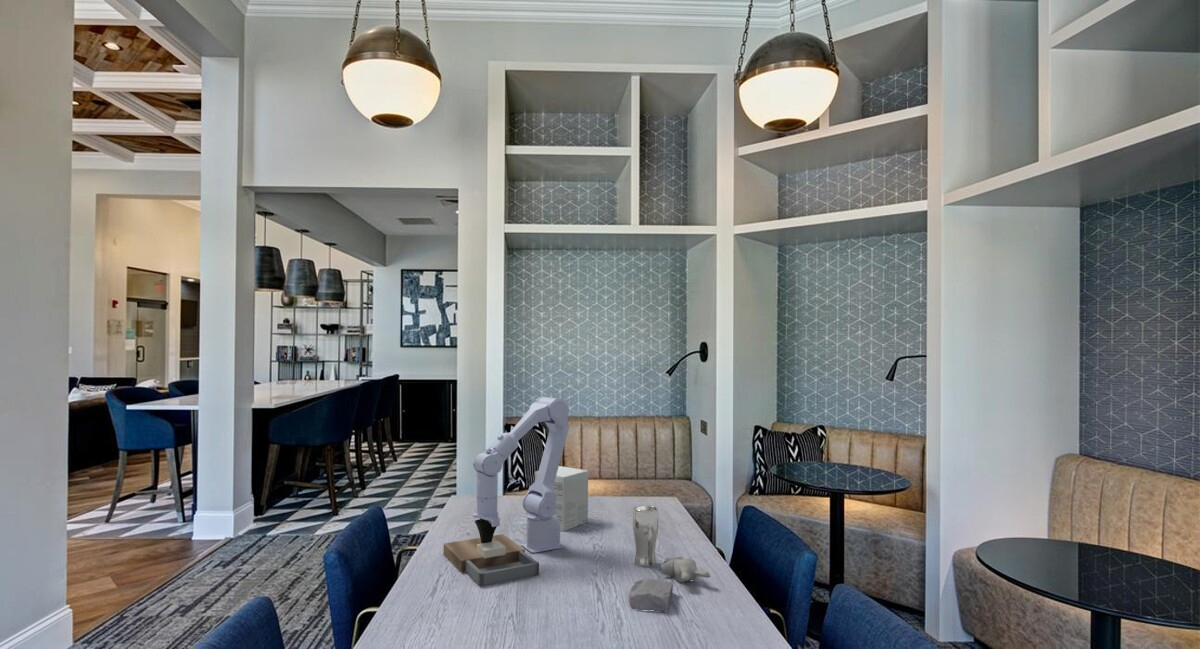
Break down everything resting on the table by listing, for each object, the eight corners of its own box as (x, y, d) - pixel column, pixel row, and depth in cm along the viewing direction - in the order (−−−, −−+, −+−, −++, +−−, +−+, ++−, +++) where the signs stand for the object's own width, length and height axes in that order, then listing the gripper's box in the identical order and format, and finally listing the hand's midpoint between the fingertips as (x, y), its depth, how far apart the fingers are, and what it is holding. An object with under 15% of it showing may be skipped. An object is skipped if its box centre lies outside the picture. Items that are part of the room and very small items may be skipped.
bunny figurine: (686, 552, 166) (714, 564, 152) (687, 571, 165) (715, 585, 151) (654, 555, 163) (679, 568, 149) (655, 576, 162) (680, 590, 148)
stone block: (628, 618, 138) (672, 613, 136) (624, 597, 139) (668, 591, 137) (635, 599, 150) (675, 594, 148) (631, 579, 150) (671, 574, 149)
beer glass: (661, 561, 170) (661, 506, 170) (652, 569, 163) (653, 512, 164) (638, 557, 172) (638, 503, 173) (628, 565, 166) (629, 509, 167)
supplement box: (558, 515, 214) (559, 465, 215) (588, 522, 207) (589, 470, 207) (533, 524, 203) (533, 471, 204) (563, 531, 196) (564, 476, 196)
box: (522, 561, 168) (522, 550, 168) (539, 574, 159) (539, 563, 159) (465, 572, 160) (465, 560, 160) (479, 586, 151) (479, 574, 151)
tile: (497, 548, 170) (497, 540, 170) (505, 554, 165) (505, 547, 165) (476, 551, 167) (476, 544, 167) (484, 558, 162) (484, 550, 162)
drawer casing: (503, 544, 183) (503, 534, 183) (524, 560, 169) (524, 549, 169) (443, 554, 174) (443, 543, 174) (461, 572, 160) (461, 560, 160)
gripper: (464, 492, 174) (464, 541, 174) (482, 504, 162) (481, 556, 161) (488, 490, 178) (487, 537, 177) (507, 501, 165) (506, 552, 165)
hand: (486, 546), depth 170 cm, fingers closed
